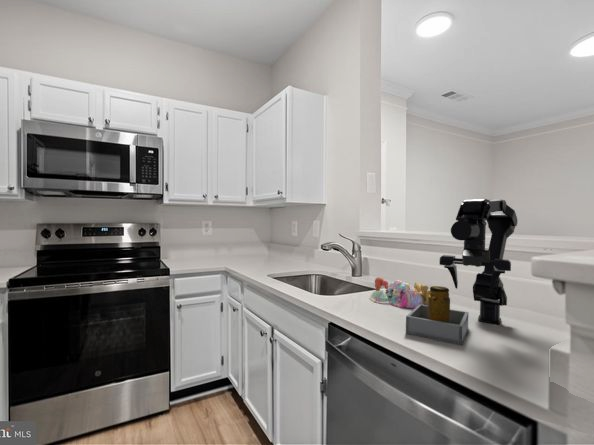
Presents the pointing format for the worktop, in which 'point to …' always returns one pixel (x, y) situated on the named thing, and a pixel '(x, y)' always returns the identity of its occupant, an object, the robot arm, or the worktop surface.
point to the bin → (437, 325)
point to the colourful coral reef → (400, 294)
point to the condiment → (439, 304)
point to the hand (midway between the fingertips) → (473, 290)
